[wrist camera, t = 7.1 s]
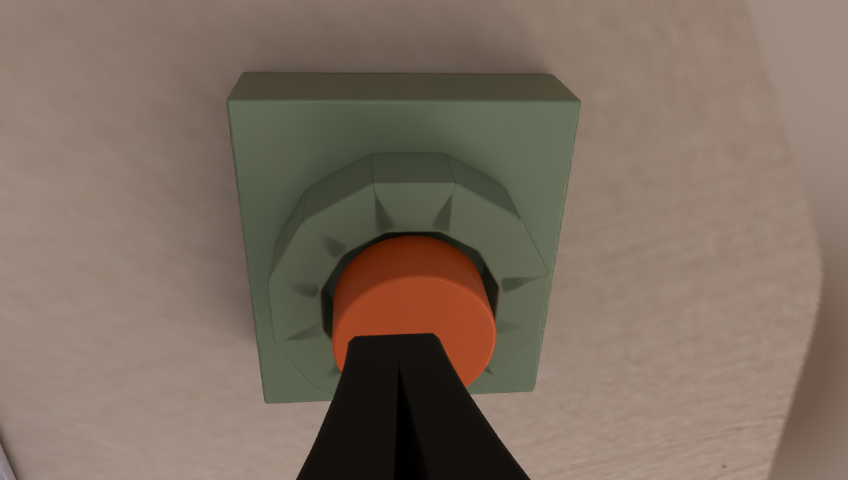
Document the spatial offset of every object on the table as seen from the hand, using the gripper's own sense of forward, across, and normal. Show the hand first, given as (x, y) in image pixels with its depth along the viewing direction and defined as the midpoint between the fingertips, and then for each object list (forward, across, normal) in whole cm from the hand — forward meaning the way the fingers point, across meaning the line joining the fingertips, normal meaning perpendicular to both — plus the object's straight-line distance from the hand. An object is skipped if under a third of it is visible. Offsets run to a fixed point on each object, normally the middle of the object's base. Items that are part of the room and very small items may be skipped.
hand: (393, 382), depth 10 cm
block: (+8, -1, +2) cm, 8 cm away
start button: (+5, -1, +2) cm, 5 cm away
